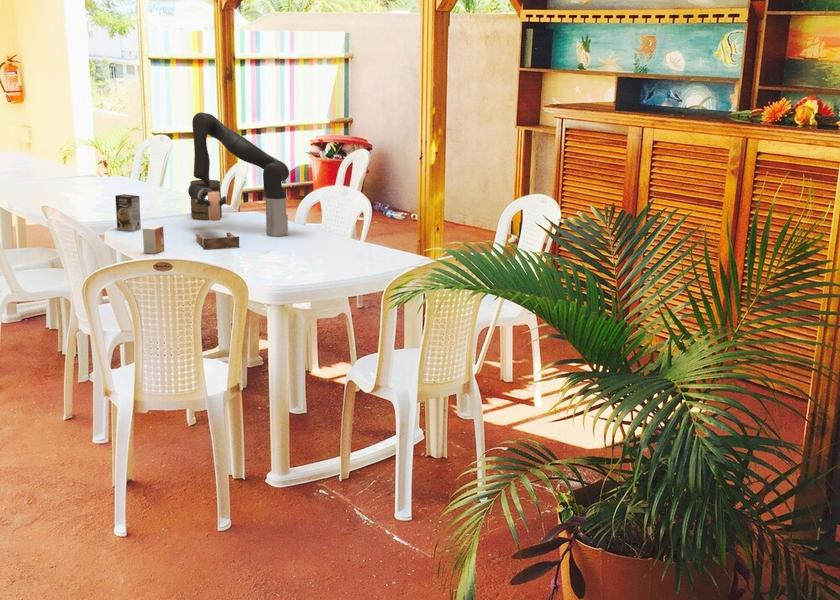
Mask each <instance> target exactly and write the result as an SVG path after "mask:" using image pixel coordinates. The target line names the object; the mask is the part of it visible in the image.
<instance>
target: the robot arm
mask: <svg viewBox="0 0 840 600" xmlns="http://www.w3.org/2000/svg"><path fill="white" fill-rule="evenodd" d="M191 122H192V123H191V124H192V134H193V145H194V146H193V147H194V162H193V163H194V164H193V177H194V178H196V179H197V180H203V182H204V184H195V183H194V184H191V185H189V187H188V191H187V193H188V195H189V197H190V199H191V198H192V199H195V203H196V204H199V205H204V206H206V207H208V206H210V202H209V200H208V192H214V191H212V189H211V185H210V180H211V179H210V167H211V166H210V165H211V163H210V161H211V160H210V154H209V151H208V142H207V138H208V135H209V136H211V137H212V138H214V139H216V140H217V141H219V142H220V143H221V144H222V145H223V147H225V149H226V150H227V151H229V153H231V154H232V155H234V156H235V157H236V158H238V159H239V160H241V161H243V162H245V163H248V164H252V165H254V166H257V167H259V168H261V169H262V170H263V172H262V183H263V191H264V192H263V193H264V194H265V218H266V220H265V224H266V225H265V226H266V227H265V231H266V235H267V236H270V237H283V236H288V235H289V225H288V224H289V221H288V220H289V215H288V213H287V192H286V191H285V190H284V189H283V185H282V182H284V181H286V180H287V179H288V178H289V177H290V170H289V168H288V166H287V165H286V164H285V163H284V162H283V161H281V160H279V159H277V158H275V157H273V156H272V155H269V154H268V153H266V152H265V151H264V150H263V149H262V148H260V147H258V146H257V145H255V144H254V143H253V142H251V141H250V140H248V139H246V137H243V136H242V135H240V134H239V133H237V132H236V131H234V130H232V129H231V128H229V127H227V126H226V125H224V124H223V122H221V121H220V120H219V119H218V118H217V117H216V116H214V115H213V114H210V113H206V112H202V111H201V112H198V113H196V114H194V115H193V118H192V121H191ZM209 179H210V180H209ZM226 204H227V196H226V195H224V196H221V198H220V205H221V207H222V206H223V205H226Z"/></svg>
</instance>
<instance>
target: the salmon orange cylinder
mask: <svg viewBox="0 0 840 600" xmlns="http://www.w3.org/2000/svg"><path fill="white" fill-rule="evenodd" d="M208 200H209V202H210V206H208V212H209V220H208V221H220V220H221V218H220V192H208Z"/></svg>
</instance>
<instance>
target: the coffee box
mask: <svg viewBox="0 0 840 600" xmlns="http://www.w3.org/2000/svg"><path fill="white" fill-rule="evenodd" d="M140 199H141V198H140V195H133V194H132V195H131V194H125V193H123V194H118V195H115V215H116V230H117V231H121V230H123V231H122V232H129V231H134V232H138V231H141V230H142V229H141V205H140V204H141V201H140ZM140 229H141V230H140ZM137 230H138V231H137Z"/></svg>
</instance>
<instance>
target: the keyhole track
mask: <svg viewBox="0 0 840 600" xmlns="http://www.w3.org/2000/svg"><path fill="white" fill-rule="evenodd" d="M195 237H196V238H195V239H196V243H197V244H199V246H200V247H201V248H202V249H203V250H206V251H207V250H218V249H232V248H231V247H237V248H240V237H239V236H235V235H234V234H232V233H231V232H226V236H225V237H203V236H202V235H201V234H200V233H199V234H198V233H196V234H195Z"/></svg>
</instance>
